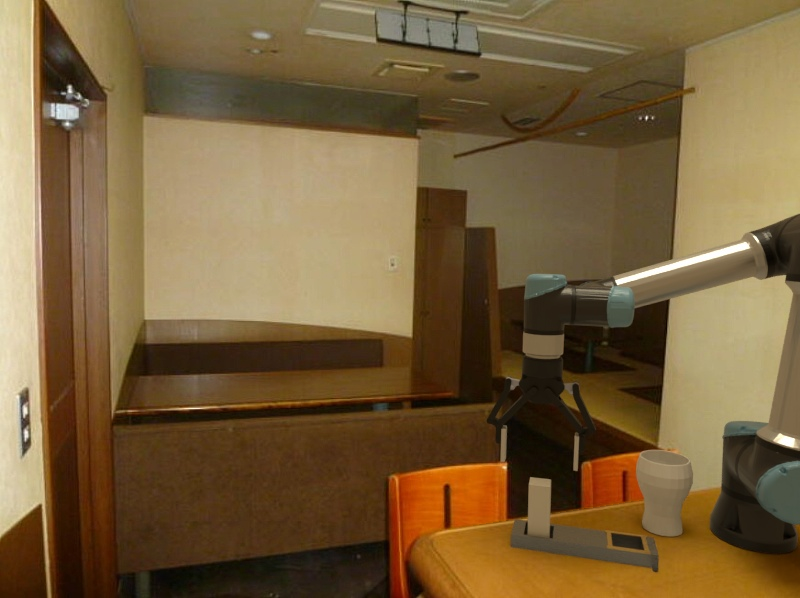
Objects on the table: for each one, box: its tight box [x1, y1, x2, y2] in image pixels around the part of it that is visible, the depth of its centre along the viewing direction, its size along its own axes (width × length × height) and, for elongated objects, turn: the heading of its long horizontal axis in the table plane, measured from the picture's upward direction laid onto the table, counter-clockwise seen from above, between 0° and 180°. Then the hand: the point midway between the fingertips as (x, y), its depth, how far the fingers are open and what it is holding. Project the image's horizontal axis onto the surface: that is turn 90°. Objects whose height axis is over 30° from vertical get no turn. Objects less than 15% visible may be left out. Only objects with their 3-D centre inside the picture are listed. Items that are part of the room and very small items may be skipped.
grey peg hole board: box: [510, 518, 660, 573], centre depth 110 cm, size 26×7×3 cm, turn 73°
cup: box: [635, 449, 694, 537], centre depth 120 cm, size 11×11×15 cm
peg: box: [527, 476, 552, 538], centre depth 112 cm, size 4×4×12 cm
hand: (538, 464), depth 112 cm, fingers open, 13 cm apart
